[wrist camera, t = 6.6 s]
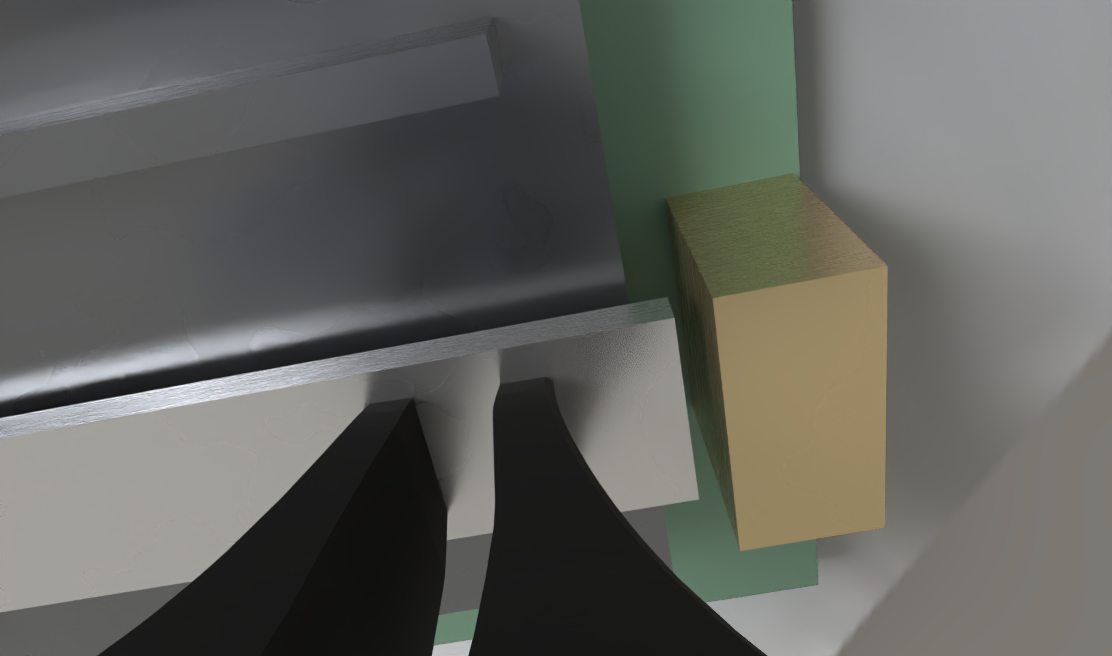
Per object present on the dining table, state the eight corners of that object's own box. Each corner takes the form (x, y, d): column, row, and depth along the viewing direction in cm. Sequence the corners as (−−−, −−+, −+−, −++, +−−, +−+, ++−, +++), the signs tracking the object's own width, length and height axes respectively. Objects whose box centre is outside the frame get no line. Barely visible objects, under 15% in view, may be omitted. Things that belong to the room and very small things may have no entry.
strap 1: (-65, 593, 13) (-100, 633, 12) (-181, 447, 11) (-229, 483, 11) (690, 468, 12) (700, 503, 11) (665, 293, 10) (676, 321, 10)
